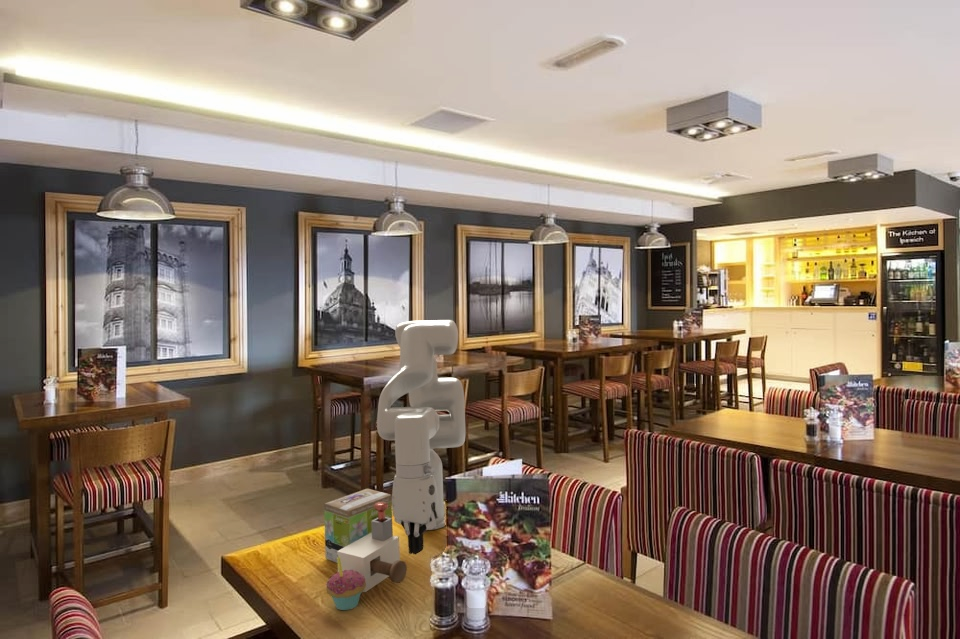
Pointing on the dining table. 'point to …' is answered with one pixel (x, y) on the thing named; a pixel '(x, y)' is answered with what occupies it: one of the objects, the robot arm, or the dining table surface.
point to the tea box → (351, 519)
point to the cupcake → (345, 587)
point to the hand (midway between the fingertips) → (416, 551)
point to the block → (371, 552)
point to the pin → (390, 569)
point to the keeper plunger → (381, 510)
